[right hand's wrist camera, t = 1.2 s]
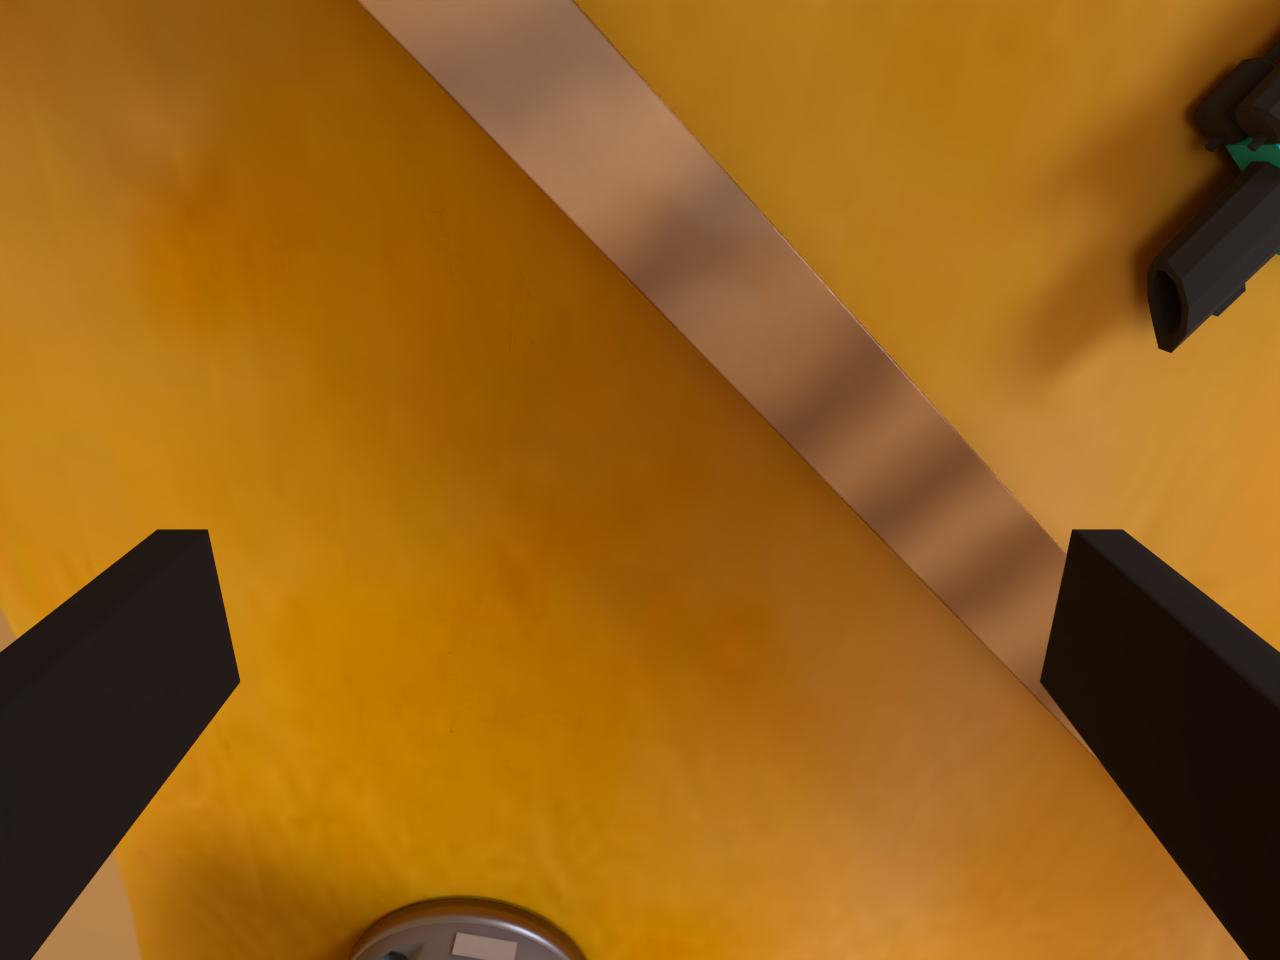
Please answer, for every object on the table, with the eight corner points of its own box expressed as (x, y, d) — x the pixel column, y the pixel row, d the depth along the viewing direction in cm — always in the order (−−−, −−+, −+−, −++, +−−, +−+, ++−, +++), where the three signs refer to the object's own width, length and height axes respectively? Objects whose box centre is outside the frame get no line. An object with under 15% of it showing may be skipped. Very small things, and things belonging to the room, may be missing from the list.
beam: (1381, 920, 49) (1529, 1075, 41) (1312, 957, 50) (1442, 1115, 42) (284, -306, 28) (136, -493, 20) (209, -193, 29) (39, -324, 21)
